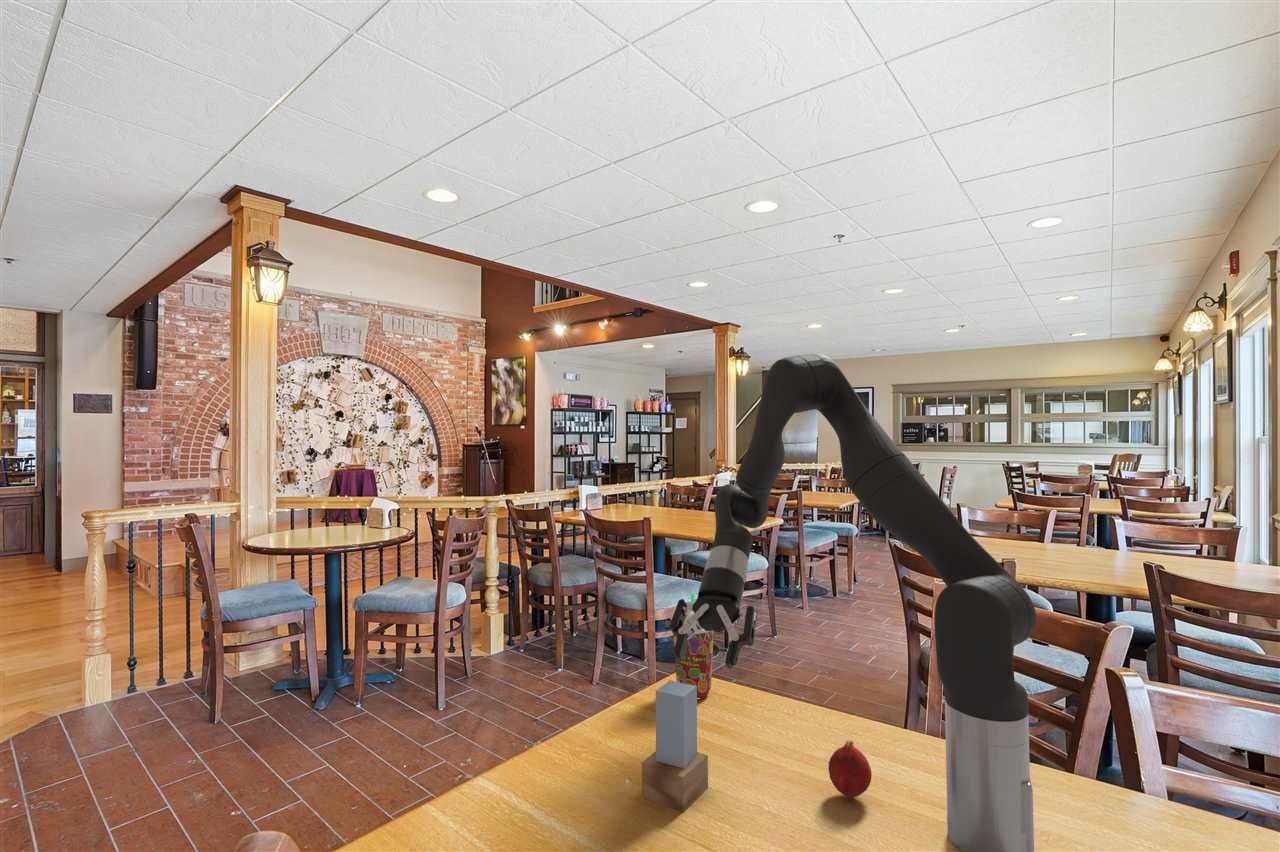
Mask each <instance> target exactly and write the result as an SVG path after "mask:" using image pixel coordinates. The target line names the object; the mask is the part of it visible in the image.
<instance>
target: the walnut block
mask: <svg viewBox="0 0 1280 852" xmlns="http://www.w3.org/2000/svg"><path fill="white" fill-rule="evenodd" d="M708 757H709V756H708V754H705V753H701V752H699V751H697V756H696V757H695V758H694V759H693V760H692V761H691V762H690V763H689V764H688V765H687V766H686V767H685V769H683V768H679V767H676V766H672V765H668V764H665V763H661V762H657V761H656V751H654V752H653V753H652V754H650V755H649V756H647V757H646V758H645V759H644V760H643V761H641V797H643V798H645V799H648V800H650V801H653V802H656V803H658V804H661V805H663V806H666V807H669V808H671V809H674V810H676V811H679V812H681V813H685V812H686V811H687V810H688V809H689V807H691V806H692V805H693V804H694V803H695V802H696V801H697V800H698V799H700V797H701V796H702V795H703V794H704V793H705V792H706V791H707V790H708V789H709V758H708Z"/></svg>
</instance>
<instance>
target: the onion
mask: <svg viewBox="0 0 1280 852" xmlns="http://www.w3.org/2000/svg"><path fill="white" fill-rule="evenodd" d="M854 745H855V743H854V741H852V740H851V739H847V740H846V741H845V744H844V745H843V746H841V747H839V748H837V749H836V750H835V751H834V752H833V753H832V755H831V756H830V758H829V762H828V773H829V779H830V781H831V783H832V784H833V786H834V788H836V789H837V791H838V792H839V793H840V794H842V795H843V796H845V797H846V798H848V799H854V798H855V797H856V798H857V797H859V796H860V795H862V794H863V793H865V792H866V791H868V788H869V787H870V785H871V782H872V769H871V765H870V763H869V762H868V761H869V760H868V759H867V758H866V756H865V755H864V753H862V752H861V751H860V750H859V749H858V748H856V747H855V746H854Z"/></svg>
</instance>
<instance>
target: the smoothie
mask: <svg viewBox="0 0 1280 852" xmlns="http://www.w3.org/2000/svg"><path fill="white" fill-rule="evenodd" d="M690 603H692V604H694V603H695V593H690ZM693 614H694V611H691V612H690V613H689V616H686V618H685V621H684V624H685V623H687V620H688V619H689V618H690V617H691V616H692V615H693ZM698 623H699V622H698V621H697V622H696V625H697V624H698ZM684 624H683V625H684ZM714 632H715V631H705V630H704V629H703V630H701V631H700V632H699V633H698V634H694V635H693V636H692V637H691V638H690V639H689V640H688V642H689V643H688V646H687V650H686V654H685V658H684V661H678V659H677V657H676V655H675V654H674V662H675V664H674V665H675V674H676V675H675V677H676V678H675V679H676V682H679V683H684V684H689V685H694V686H697V698H702V699H704V698H703V697H705V696H706V697H707V695H709V691H711V689H712V676H713V675H712V674H713V673H712V671H713V652H714V649H713V648H714ZM672 635H673V636H672V637H673V639H672V640H673V650H674V649H675V645H676V642H677V638H678V637H676V636H674V634H673V633H672ZM706 697H705V698H706Z"/></svg>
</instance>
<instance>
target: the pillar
mask: <svg viewBox="0 0 1280 852" xmlns="http://www.w3.org/2000/svg"><path fill="white" fill-rule="evenodd" d="M655 752H656V761H657V762H661V763H665V764H668V765H672V766H676V767H679V768H683V769H685V767H686V766H687V765H688V764H689V763H690V762H691V761H692V760H693V759H694V758H695V757H696V756H697V752H698V699H697V686H694V685H689V684H684V683H679V682H677V681H674V680H668V681H667V682H666V683H664V684H663V685H662V686H660V687H659V688H657V689H656V690H655Z"/></svg>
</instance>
